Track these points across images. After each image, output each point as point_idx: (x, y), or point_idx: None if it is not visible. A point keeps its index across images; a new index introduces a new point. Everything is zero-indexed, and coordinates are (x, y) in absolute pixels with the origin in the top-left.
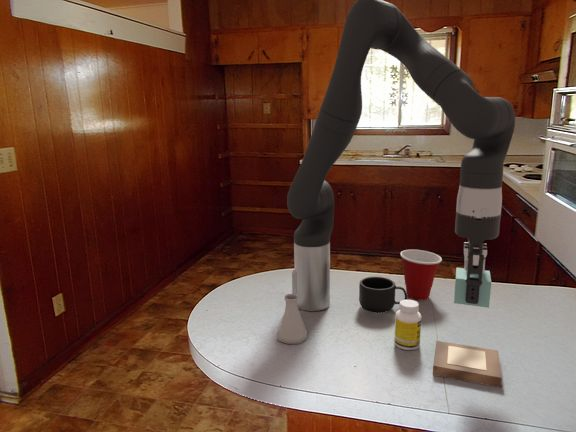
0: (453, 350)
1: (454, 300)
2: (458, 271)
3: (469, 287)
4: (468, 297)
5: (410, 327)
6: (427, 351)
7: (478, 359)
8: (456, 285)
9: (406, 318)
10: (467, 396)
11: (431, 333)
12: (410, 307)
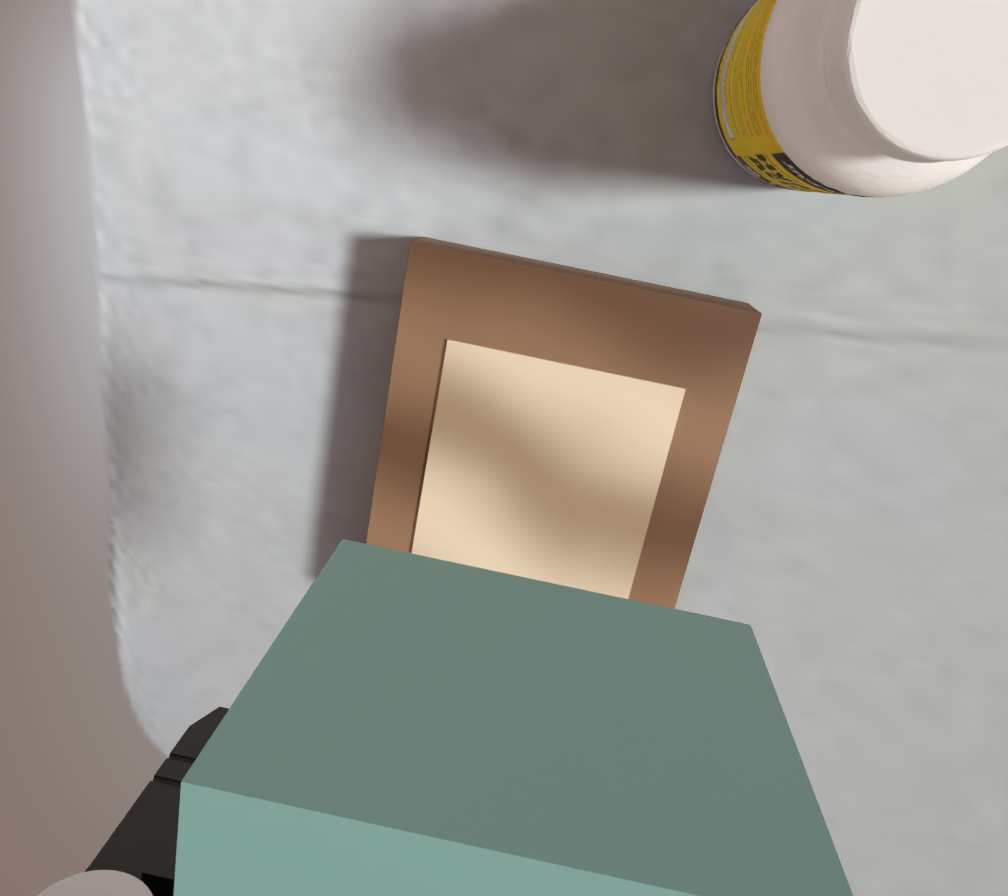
0: (621, 410)
1: (331, 558)
2: None
3: (88, 868)
4: (177, 745)
5: (748, 79)
6: (713, 240)
7: (525, 539)
8: (242, 701)
9: (787, 18)
10: (253, 399)
11: (987, 305)
12: (842, 41)
